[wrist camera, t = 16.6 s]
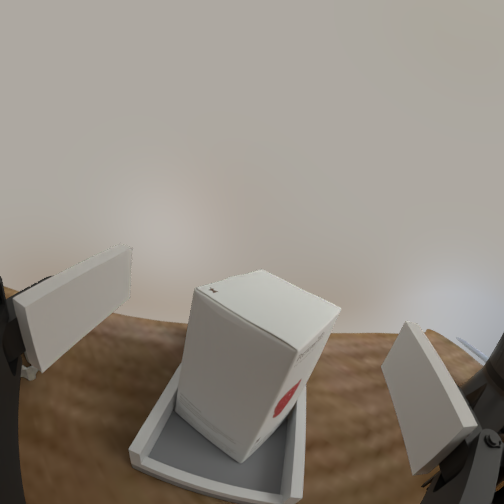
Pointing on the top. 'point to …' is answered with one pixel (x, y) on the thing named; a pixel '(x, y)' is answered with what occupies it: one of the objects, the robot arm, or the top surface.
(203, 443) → the tray
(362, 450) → the top surface
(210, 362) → the supplement box
